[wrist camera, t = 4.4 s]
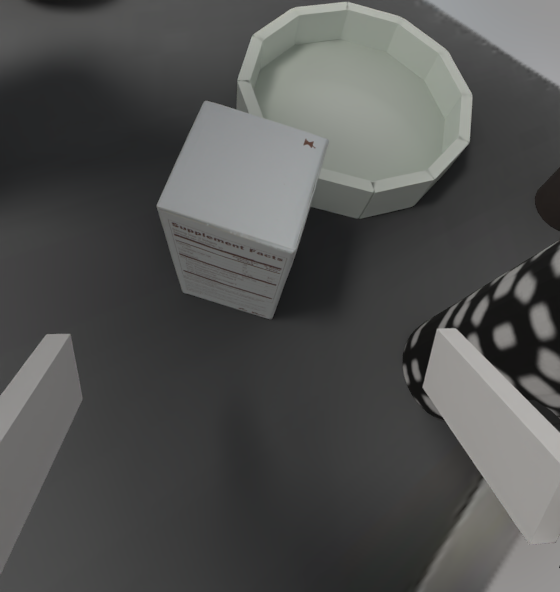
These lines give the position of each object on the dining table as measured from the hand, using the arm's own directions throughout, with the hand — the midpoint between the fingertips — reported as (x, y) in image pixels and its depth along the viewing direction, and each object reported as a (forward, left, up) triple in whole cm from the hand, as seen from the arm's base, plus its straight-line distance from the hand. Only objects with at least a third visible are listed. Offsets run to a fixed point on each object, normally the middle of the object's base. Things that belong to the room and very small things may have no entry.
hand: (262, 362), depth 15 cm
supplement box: (-3, +10, -16) cm, 19 cm away
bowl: (+3, +27, -15) cm, 31 cm away
